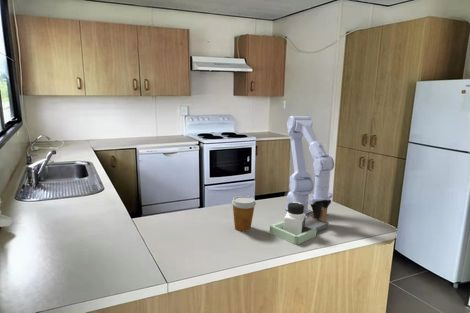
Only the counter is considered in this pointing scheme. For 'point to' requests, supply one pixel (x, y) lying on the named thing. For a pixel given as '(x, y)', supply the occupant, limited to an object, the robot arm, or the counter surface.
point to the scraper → (317, 221)
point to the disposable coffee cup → (243, 212)
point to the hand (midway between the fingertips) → (319, 217)
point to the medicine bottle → (295, 219)
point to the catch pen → (278, 231)
